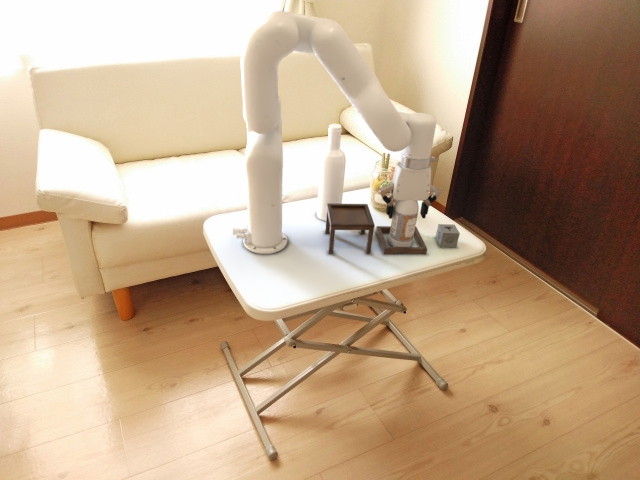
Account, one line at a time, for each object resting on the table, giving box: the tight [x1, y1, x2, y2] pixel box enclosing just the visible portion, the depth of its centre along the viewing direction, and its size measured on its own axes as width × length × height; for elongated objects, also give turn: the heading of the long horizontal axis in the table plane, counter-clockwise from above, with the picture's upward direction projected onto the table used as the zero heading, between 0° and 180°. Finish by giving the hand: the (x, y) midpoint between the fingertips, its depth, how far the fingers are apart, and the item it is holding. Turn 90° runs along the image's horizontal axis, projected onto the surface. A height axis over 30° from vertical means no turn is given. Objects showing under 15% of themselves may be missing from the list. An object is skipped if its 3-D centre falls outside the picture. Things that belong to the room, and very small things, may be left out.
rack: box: [324, 203, 428, 256], centre depth 132 cm, size 28×12×10 cm, turn 95°
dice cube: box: [434, 223, 461, 249], centre depth 135 cm, size 5×5×5 cm
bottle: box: [316, 123, 347, 222], centre depth 139 cm, size 8×8×30 cm
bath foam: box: [388, 200, 420, 247], centre depth 130 cm, size 7×7×20 cm
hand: (406, 216), depth 131 cm, fingers open, 9 cm apart
